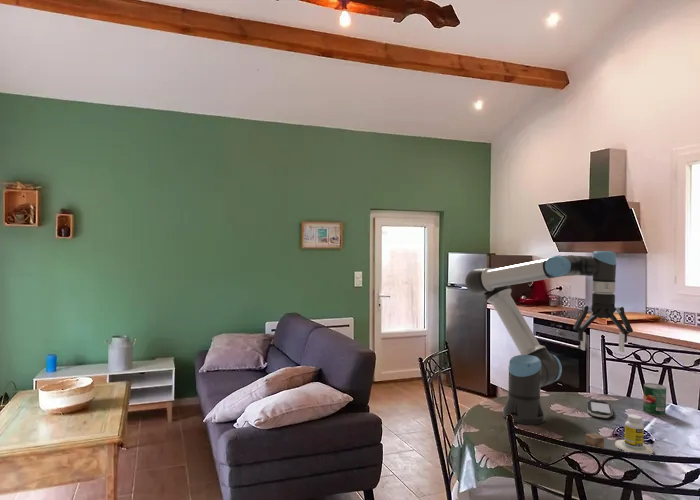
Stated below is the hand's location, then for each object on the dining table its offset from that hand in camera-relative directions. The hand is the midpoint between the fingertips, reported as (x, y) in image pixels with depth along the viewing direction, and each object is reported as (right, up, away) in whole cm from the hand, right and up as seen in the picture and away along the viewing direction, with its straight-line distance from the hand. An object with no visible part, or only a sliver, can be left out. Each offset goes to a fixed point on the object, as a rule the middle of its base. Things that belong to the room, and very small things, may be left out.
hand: (602, 350), depth 182 cm
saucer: (+1, -29, -18) cm, 34 cm away
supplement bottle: (+1, -28, -18) cm, 33 cm away
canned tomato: (+31, -29, +18) cm, 46 cm away
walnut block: (-12, -29, -17) cm, 36 cm away
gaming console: (+9, -29, +19) cm, 36 cm away
